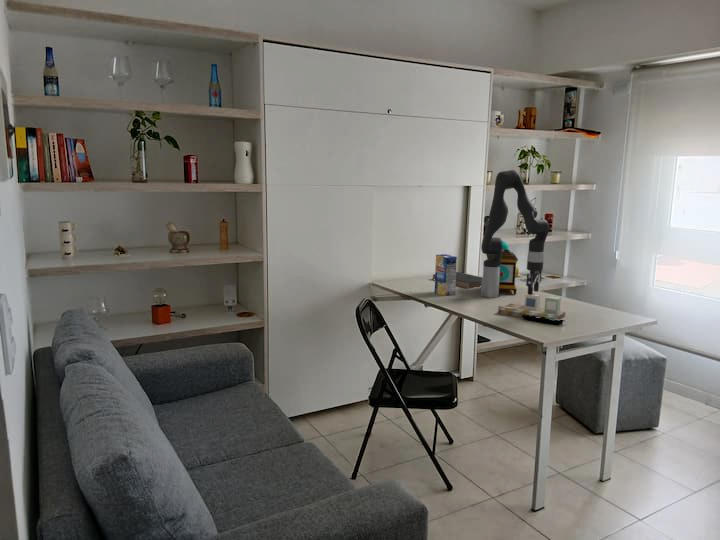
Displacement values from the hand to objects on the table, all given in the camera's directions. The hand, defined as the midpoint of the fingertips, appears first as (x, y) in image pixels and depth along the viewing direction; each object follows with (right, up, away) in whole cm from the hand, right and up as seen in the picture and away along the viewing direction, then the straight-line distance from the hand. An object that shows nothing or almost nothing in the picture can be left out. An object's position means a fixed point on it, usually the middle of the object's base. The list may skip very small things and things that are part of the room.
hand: (533, 292), depth 274 cm
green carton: (+8, -10, -4) cm, 13 cm away
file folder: (-19, +3, +81) cm, 84 cm away
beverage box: (-36, -3, +46) cm, 59 cm away
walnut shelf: (0, -11, +2) cm, 11 cm away
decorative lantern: (-3, -2, +55) cm, 55 cm away
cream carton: (0, -9, +2) cm, 9 cm away
